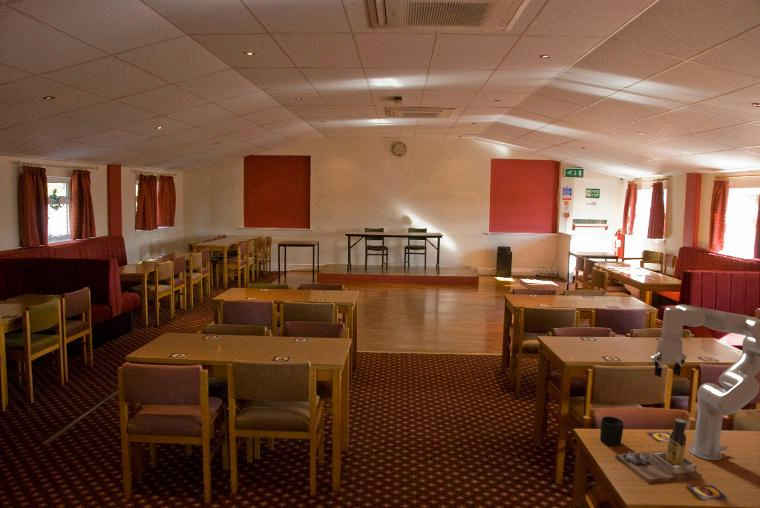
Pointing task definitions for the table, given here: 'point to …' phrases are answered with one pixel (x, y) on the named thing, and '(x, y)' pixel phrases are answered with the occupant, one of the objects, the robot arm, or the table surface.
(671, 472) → the gear board
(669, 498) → the table surface
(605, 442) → the pen holder
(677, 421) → the sauce bottle
